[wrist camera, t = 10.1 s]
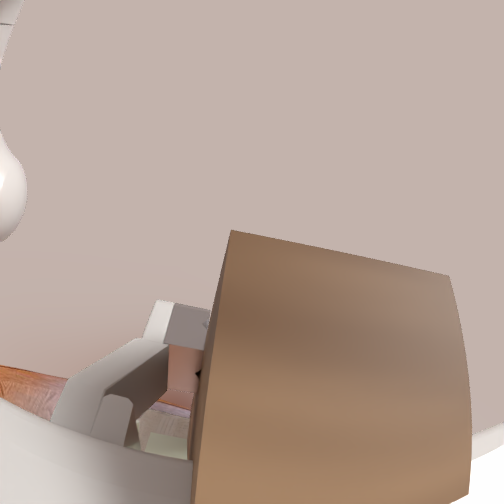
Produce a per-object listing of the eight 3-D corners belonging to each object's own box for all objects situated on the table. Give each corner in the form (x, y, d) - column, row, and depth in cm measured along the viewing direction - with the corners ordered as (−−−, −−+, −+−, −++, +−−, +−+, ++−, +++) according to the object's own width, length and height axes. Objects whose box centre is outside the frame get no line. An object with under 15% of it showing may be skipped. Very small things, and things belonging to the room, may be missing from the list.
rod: (469, 494, 2) (449, 276, 4) (191, 545, 2) (231, 230, 4) (225, 445, 23) (228, 410, 25) (187, 439, 22) (191, 405, 24)
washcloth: (204, 428, 49) (206, 415, 49) (200, 486, 31) (202, 472, 32) (144, 415, 48) (145, 402, 48) (119, 468, 30) (118, 454, 30)
